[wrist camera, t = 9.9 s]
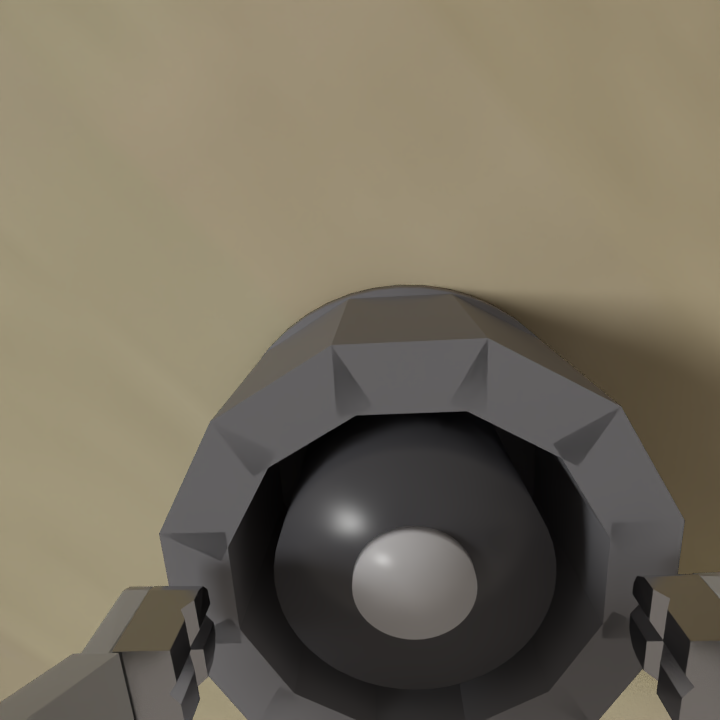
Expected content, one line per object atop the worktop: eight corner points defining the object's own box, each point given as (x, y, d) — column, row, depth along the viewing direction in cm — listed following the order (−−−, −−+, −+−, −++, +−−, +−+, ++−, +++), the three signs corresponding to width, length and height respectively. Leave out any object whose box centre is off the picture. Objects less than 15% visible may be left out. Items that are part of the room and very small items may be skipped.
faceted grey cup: (213, 294, 15) (112, 344, 10) (590, 275, 15) (723, 316, 9) (254, 601, 18) (197, 778, 13) (569, 595, 18) (658, 779, 12)
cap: (297, 378, 15) (256, 462, 10) (504, 370, 15) (569, 452, 10) (313, 554, 17) (284, 702, 12) (500, 550, 17) (554, 700, 11)
